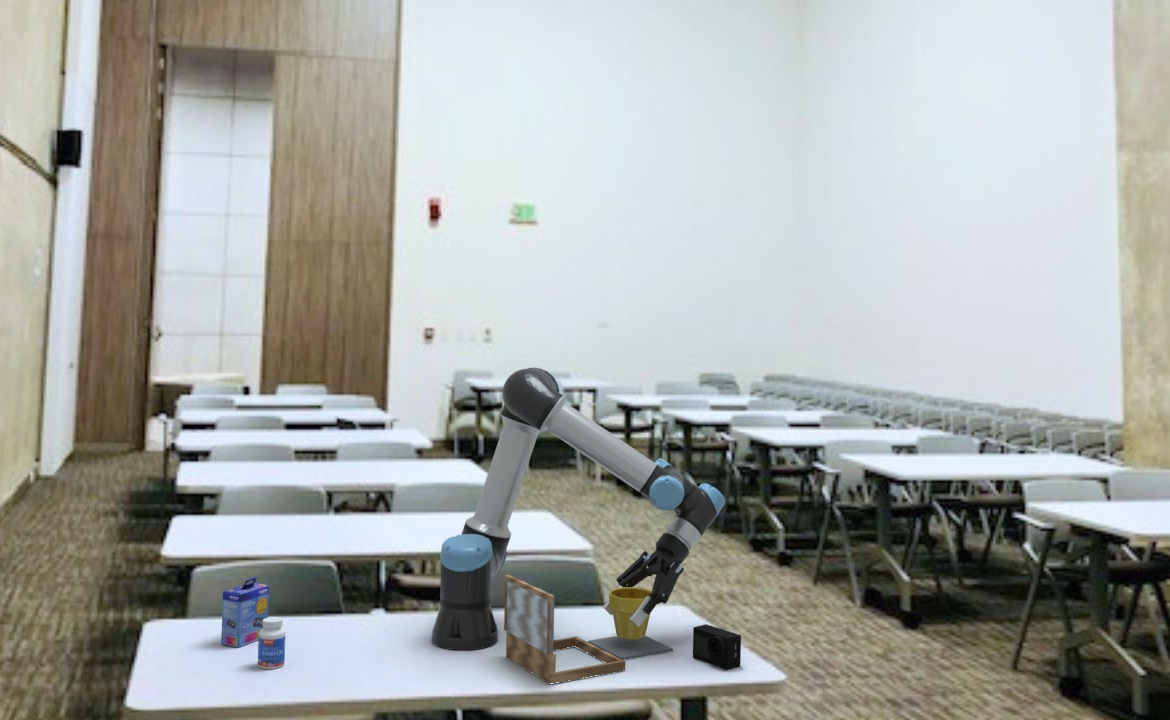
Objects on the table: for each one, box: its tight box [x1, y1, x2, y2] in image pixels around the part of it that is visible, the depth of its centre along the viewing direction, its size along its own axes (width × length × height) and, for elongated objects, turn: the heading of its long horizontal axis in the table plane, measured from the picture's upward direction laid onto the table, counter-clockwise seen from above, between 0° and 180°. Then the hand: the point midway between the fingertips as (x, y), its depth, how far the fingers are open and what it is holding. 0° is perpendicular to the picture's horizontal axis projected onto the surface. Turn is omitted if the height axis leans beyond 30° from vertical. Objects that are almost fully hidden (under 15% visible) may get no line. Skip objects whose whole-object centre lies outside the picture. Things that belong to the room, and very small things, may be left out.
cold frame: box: [503, 574, 626, 684], centre depth 210 cm, size 20×19×18 cm
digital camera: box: [692, 623, 742, 671], centre depth 213 cm, size 10×5×7 cm, turn 40°
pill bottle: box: [257, 616, 286, 670], centre depth 205 cm, size 6×5×10 cm
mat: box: [587, 635, 674, 661], centre depth 223 cm, size 14×14×1 cm
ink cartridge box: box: [220, 576, 270, 649], centre depth 222 cm, size 10×6×14 cm, turn 158°
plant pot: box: [608, 586, 652, 639], centre depth 222 cm, size 10×10×10 cm
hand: (620, 617), depth 221 cm, fingers closed on plant pot, 10 cm apart
